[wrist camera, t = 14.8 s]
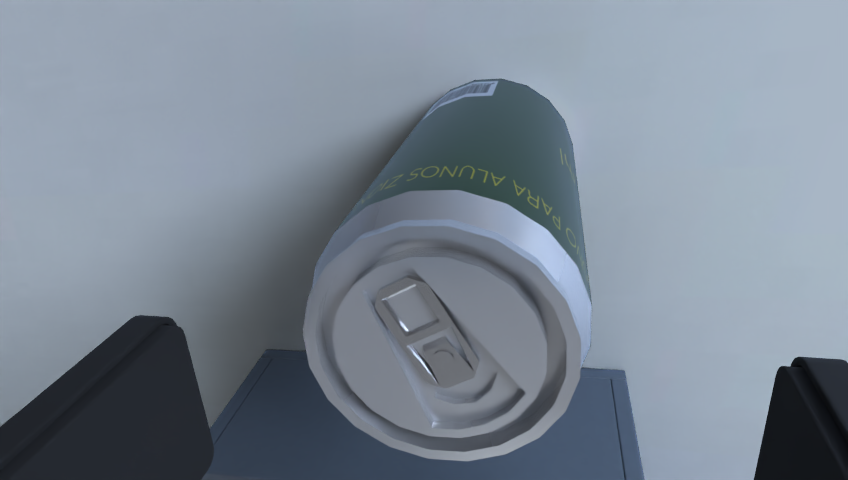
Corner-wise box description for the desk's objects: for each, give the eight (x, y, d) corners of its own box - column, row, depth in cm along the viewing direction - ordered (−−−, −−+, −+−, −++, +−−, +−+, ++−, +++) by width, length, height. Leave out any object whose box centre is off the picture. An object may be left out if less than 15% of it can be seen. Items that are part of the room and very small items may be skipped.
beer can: (389, 123, 22) (232, 292, 11) (525, 42, 20) (495, 150, 9) (466, 246, 23) (394, 500, 12) (600, 182, 21) (651, 418, 10)
